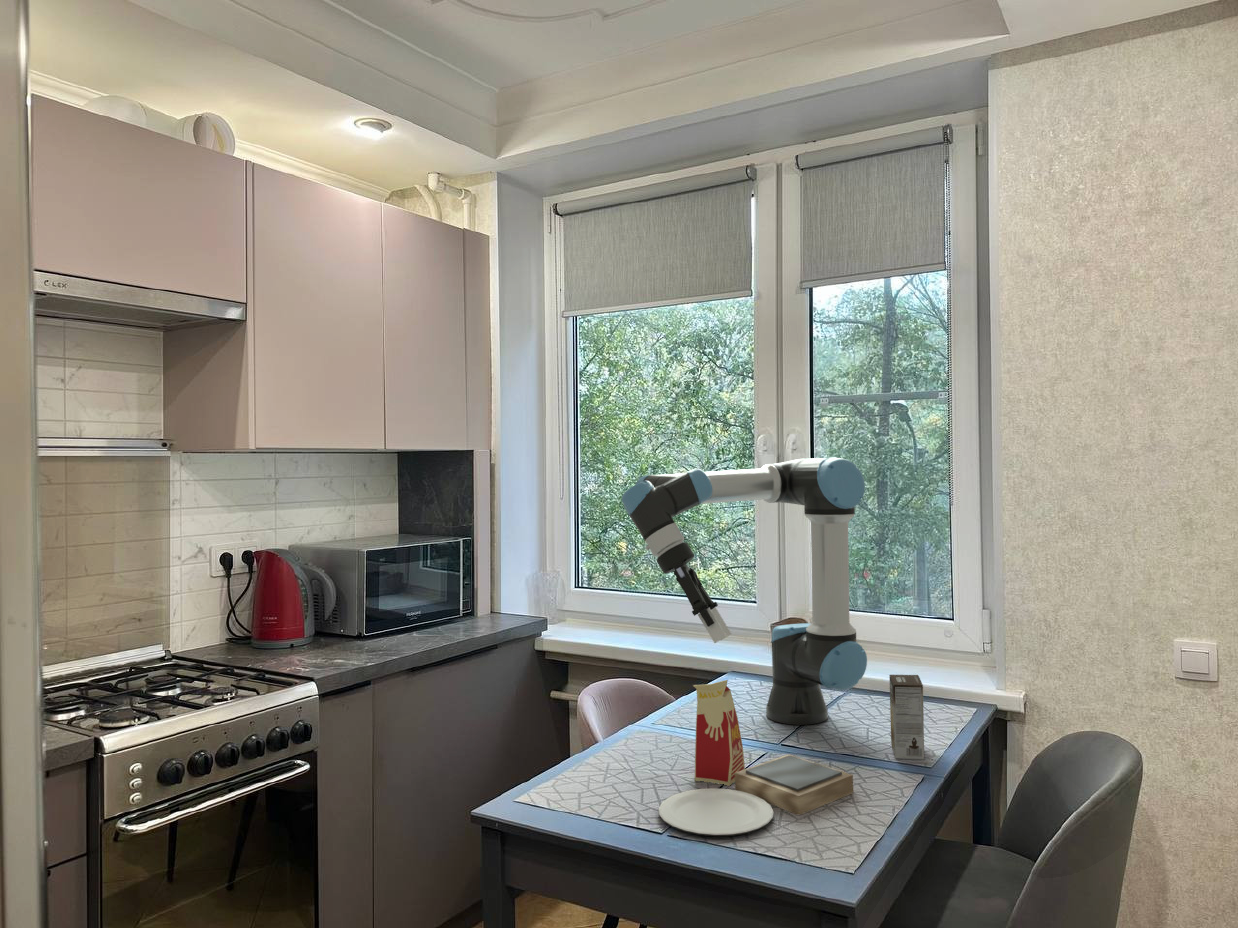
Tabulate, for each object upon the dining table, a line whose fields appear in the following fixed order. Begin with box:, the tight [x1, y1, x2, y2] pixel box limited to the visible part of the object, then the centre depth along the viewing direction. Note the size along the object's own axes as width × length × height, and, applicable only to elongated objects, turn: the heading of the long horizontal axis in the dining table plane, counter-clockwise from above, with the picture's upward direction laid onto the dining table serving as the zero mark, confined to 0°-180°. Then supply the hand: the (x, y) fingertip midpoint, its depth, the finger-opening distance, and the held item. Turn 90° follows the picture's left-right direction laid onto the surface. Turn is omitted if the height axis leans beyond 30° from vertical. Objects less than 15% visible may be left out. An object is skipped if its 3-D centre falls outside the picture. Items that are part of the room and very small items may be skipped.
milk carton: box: [692, 679, 746, 787], centre depth 179 cm, size 9×9×20 cm
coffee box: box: [889, 674, 925, 760], centre depth 191 cm, size 9×6×16 cm
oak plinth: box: [734, 754, 854, 816], centre depth 170 cm, size 16×16×4 cm
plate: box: [658, 787, 775, 837], centre depth 159 cm, size 21×21×2 cm
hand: (723, 638), depth 179 cm, fingers open, 13 cm apart
